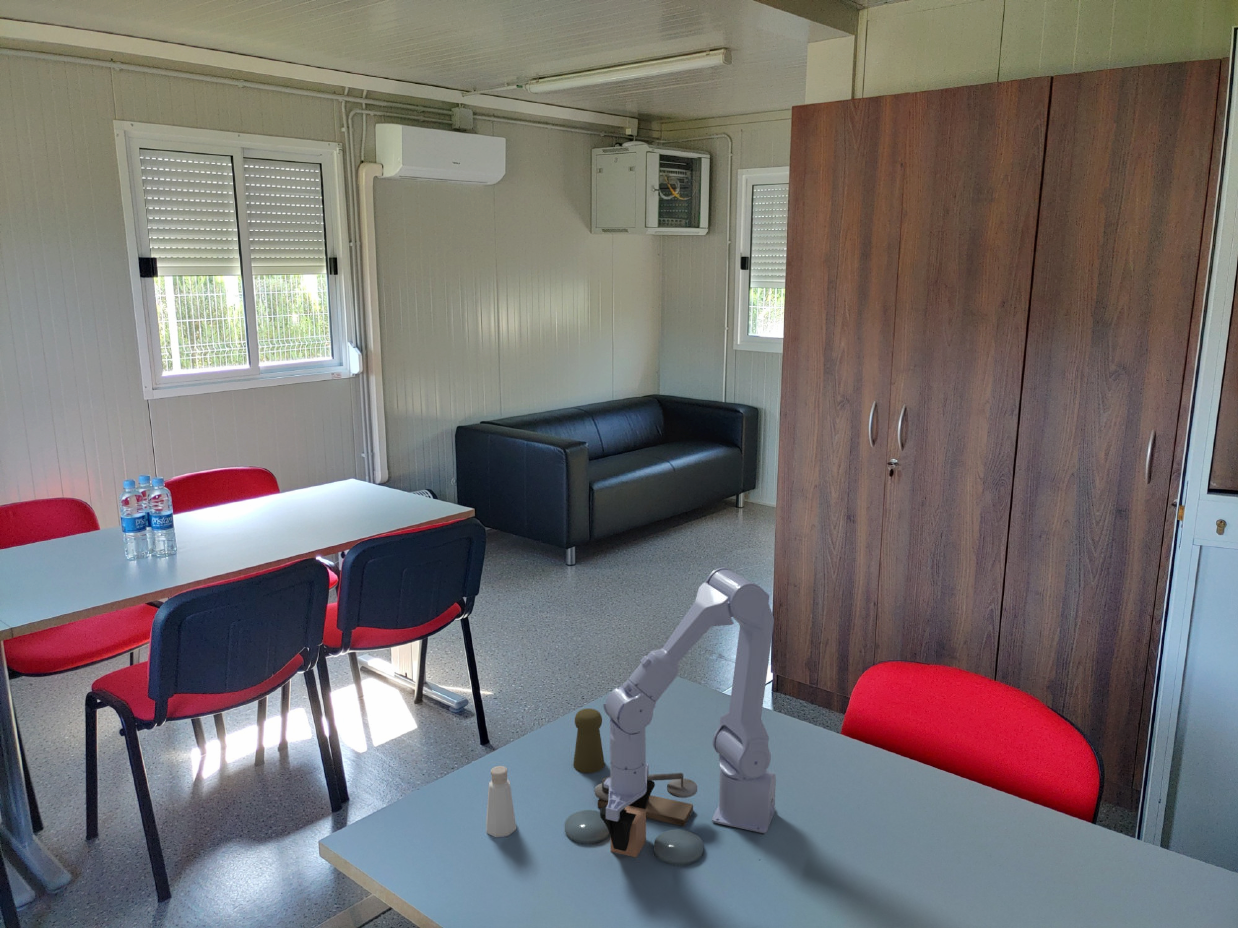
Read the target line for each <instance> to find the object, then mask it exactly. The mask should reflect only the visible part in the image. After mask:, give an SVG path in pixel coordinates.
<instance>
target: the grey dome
mask: <svg viewBox="0 0 1238 928" xmlns="http://www.w3.org/2000/svg"><path fill="white" fill-rule="evenodd" d="M564 833H565V836H567V838H569V840H571V841H573V842H575V843H580V844H596V843H599V842H602V841H604V840H606V839H608V837H610V834H609V831H608V828H607V826H606V824H605V823H604V821H603V820H602V819H601V817H600V810H594V809H593V810H592V809H586V810H578V811H577V812H574V813H572V814H570V815H569V816H568V817H567V818H566V819H565V822H564Z"/></svg>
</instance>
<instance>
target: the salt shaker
mask: <svg viewBox="0 0 1238 928" xmlns="http://www.w3.org/2000/svg"><path fill="white" fill-rule="evenodd" d="M490 775H491V776H490V778H491V781H489V783H488V794H487V803H486V804H487V807H486V819H485V821H486V822H485V829H486V833H487V835H490V836H492V837H494V838H500V837H502V838H503V837H508V836H510V835H511V834H513V833H514V832H516V830H517V824H516V817H515V815H516V814H515V808H514V801H513V796H512V787H511V782H510V779H508V768H507V767H506V766H504V765H498V766H494V767H493V768H492V769H491V770H490Z"/></svg>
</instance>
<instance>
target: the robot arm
mask: <svg viewBox="0 0 1238 928" xmlns="http://www.w3.org/2000/svg"><path fill="white" fill-rule="evenodd" d="M732 618H733V619H734V621H735V622H736V623H737V624H738V626H739V629H738V638H737V639H738V640H737V645H736V653H735V662H734V668H733V670H734V671H733V677H732V678H733V679H732V685H731V693H730V699H729V700H730V701H729V707H728V709H729V710H728V712H726V713H724V714H722V715H721V716H720V720H719V725H718V727H717V729H716V731H715V732H714V734H713V738H712V746H713V749H714V751H715V752H716V753H717V754H718V755H719V756H718V759H719V760H718V761H719V789H718V790H719V791H718V792H719V794H718V795H719V797H718V806H717V808H716V809H715V812H714V814H713V816H712V817H711V822H712V823H714V824H719V825H724V826H727V827H728V826H729V827H732V828H733V827H734V828H737V829H742V830H747V831H752V832H756V833H760V834H767V832H768V829H769V827H770V825H771V821H772V819H773V818H774V814H775V811H776V786H777V785H776V784H777V783H776V781H777V779H776V774H775V773H773V772H771V771H770V770H769V771H768V769H769V767H770V764H771V759H772V756H771V755H772V754H771V752H770V751H771V750H770V749H769V740H770V739H769V738H770V737H769V734H768V732H767V729H766V727H765V725H764V723H763V720H762V713H763V707H764V700H765V699H764V698H765V692H766V683H767V677H768V670H769V661H770V654H771V646H772V640H773V639H772V638H773V633H774V632H773V631H774V625H775V617H774V615H773V612H772V609H771V607H770V595H769V593H768V592H766V591H765V590H764V589H763V588H762V586H759V585H758V584H756V583H755V582H752V581H750V580H747V579H746V578H744V577H743V576H741V575H739V574H738V573H736V572H735V571H734V570H732V569H731V568H728V567H718V568H716V569H714V570H713V571H711V573H710V574H709V575H708V576H707V578H706V580H705V582H703V583H701V585H699V586H698V589H697V593H696V597H695V600H694V602H693V603H692V605H691V607H690V608H689V610H688V611H687V612H686V613H685V615H684V616H683V618H682V619H681V621H680V622H679V624H678V625H677V626H676V628H675V630H674V631H673V633H672V634H670V637H669V638H668V639H667V641H666V642H665V644H664V645H663V647H662V648H660V649H654V650H651V651H649V652H648V653H647V655H644V656H643V657H642V658H641V659H640V661H639V662H640V664H639V665H638V667H636V669H635V670H634V671H633V672H632V674H631V675H630V676H629V677H628V679H627V680H626V681H624V682H623V684H622V685H621V686H618V687H616V688H614V689H612V691H610V693H608V696H607V698H606V699H605V700H606V702H604V703H603V704H602V705H603V710H604V712H605V714H606V715H607V716H608V717H609V761H610V762H609V763H610V764H609V766H610V767H609V768H610V771H609V772H610V776H609V777H610V778H607V779H606V780H605V782H604V787H605V788H608V789H609V799H608V805H604V806H603V807H602V808H600V809H599V812H600V817H601V819H602V820H603V821H604V823H605V824H606V826H607V828H608V831H609V834H610V835H609V838H610V837H611V840H612V844H613V847H614V849H618V850H622V851H626V849H627V847H628V843H629V835H630V829H631V826H632V823H633V820H634V818H635V816H636V814H632V813H628V812H627V810H625V807H627V806H633V807H637V808H642V809H646V806H647V803H648V799H649V797H650V795H651V794H652V792H653V790H654V788H655V786H656V784H655V782H654V781H651V780H647V776H648V775H650V773H649V772H650V771H649V763H646V762H647V761H646V760H647V759H646V753H647V752H646V751H647V750H646V745H647V743H646V740H647V739H646V728H647V726H649V725H650V724H651V722H652V719H653V716H654V709H656V704H657V702H658V701H659V700H660V698H661V697H662V695H663V694H664V693H665V692H666V691H667V689H668V688H669V687H670V685H672V683H673V682H674V680H675V679H677V677H678V676H679V671H680V670H679V663H680V662H681V660H683V659H684V657H685V656H686V655H687V654H688V653H689V652H690V651H691V650H692V648H693V647H695V645H696V644H697V643H698V642H699V641H700V640H701V639H702V638H703V636H705V634H706V633H707V632H708V631H709V630H710V629H711V628H712V627H720V626H731V625H735V623H734V621H733V619H732Z"/></svg>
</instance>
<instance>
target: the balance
mask: <svg viewBox="0 0 1238 928" xmlns="http://www.w3.org/2000/svg"><path fill="white" fill-rule="evenodd" d="M607 778H610V776H606V777H604V778H603V779H602V780H601V783H599V784H597V785H596V786H595V788H594V795H595V796H596V798H598V799H597V808H600V809H602V807H603V806H604V805H608V799H609V789H608V788H605V787H604V782H605V780H606V779H607ZM647 780H651V781H653V782H654V781H669V782H668V783H667V785H666V791H667V793H668V794H669V795H671V796H673V797H676V798H682V799H683V798H685V799H686V798H690V797H693V796H695V795H696V794H697V792H698V785H697V783H696V782H695V781H693V780H691V779H689V778H684V773H683V772H675V773H674V772H673V773H657V774H649V775H648V776H647ZM693 811H694V804H693V803H689V802H685V801H679V800H676V799H675V800H673V799H669V798H665V797H661V796H656V795H651V794H650V797H649V799H648V803H647V806H646V819H650V820H655V821H660V822H663V823H668V824H672V825H677V826H682V827H685V826H686V824H687V822H688V821H689V819H690V817H691V816H692V814H693Z"/></svg>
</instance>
